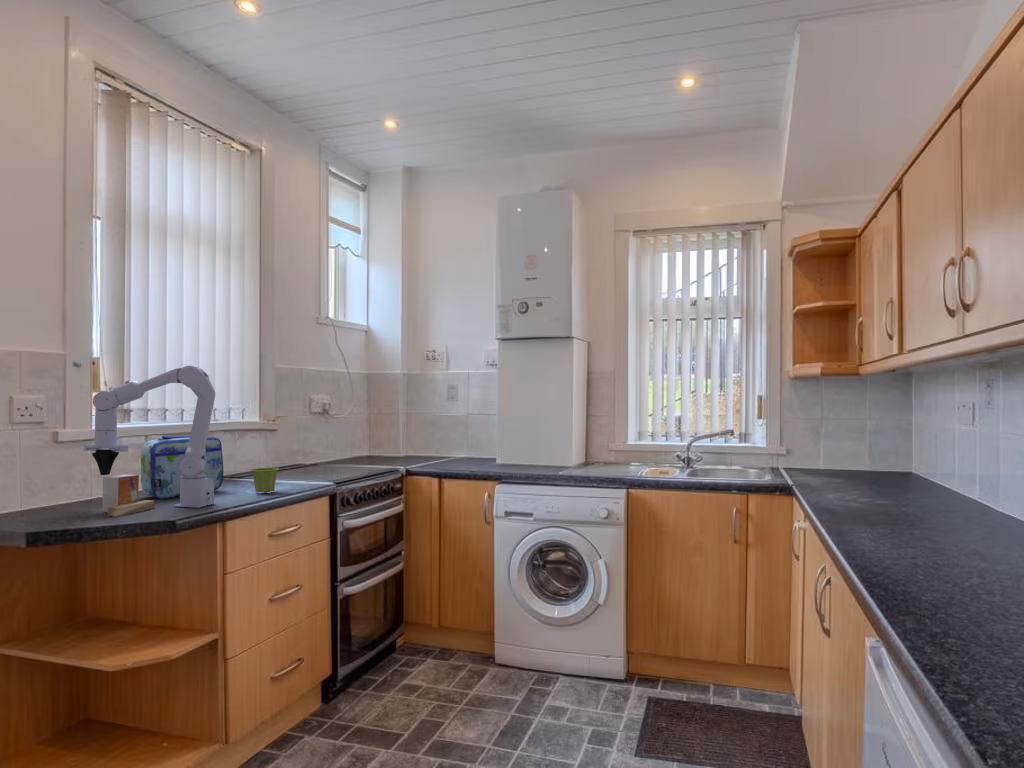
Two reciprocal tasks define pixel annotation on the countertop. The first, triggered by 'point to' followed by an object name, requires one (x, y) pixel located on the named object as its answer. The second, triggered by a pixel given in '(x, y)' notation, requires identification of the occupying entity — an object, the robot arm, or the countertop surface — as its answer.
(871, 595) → the countertop surface
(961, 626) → the countertop surface
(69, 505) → the countertop surface
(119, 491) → the small box
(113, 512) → the batten
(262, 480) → the plant pot
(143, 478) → the lunch box
